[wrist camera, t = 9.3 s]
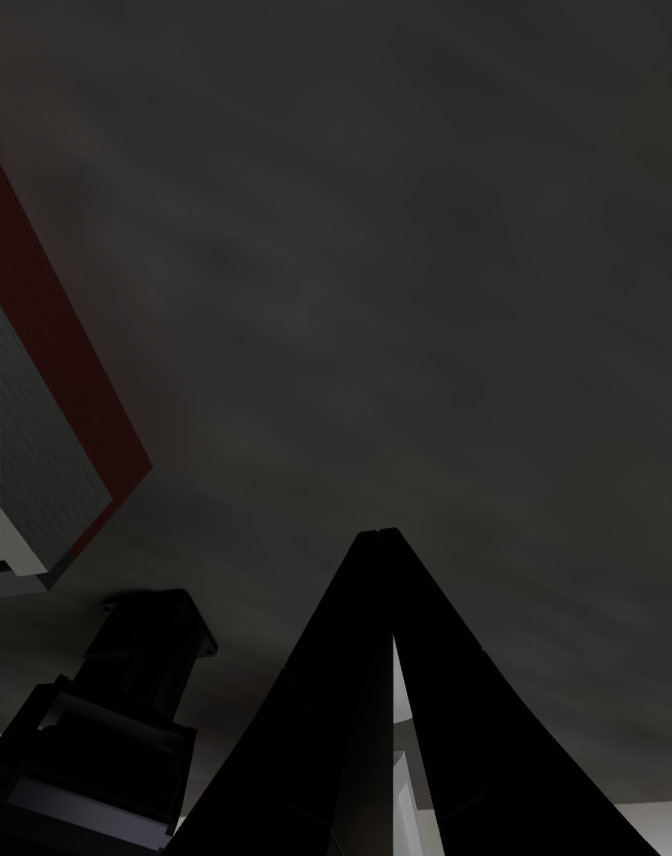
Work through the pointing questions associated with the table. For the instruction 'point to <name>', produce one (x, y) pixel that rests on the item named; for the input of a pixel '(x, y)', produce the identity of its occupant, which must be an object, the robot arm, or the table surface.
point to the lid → (39, 468)
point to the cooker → (63, 377)
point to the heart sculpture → (403, 782)
